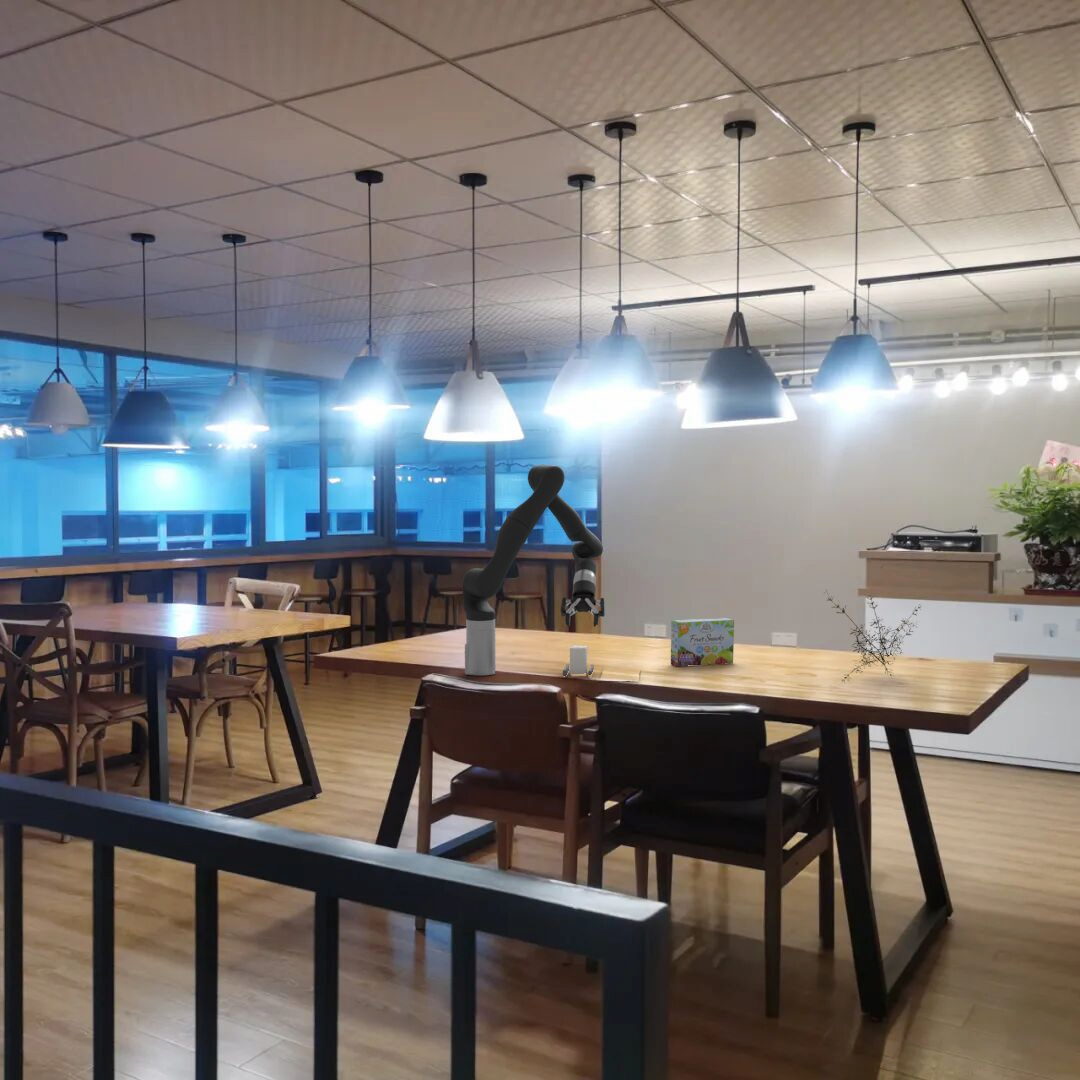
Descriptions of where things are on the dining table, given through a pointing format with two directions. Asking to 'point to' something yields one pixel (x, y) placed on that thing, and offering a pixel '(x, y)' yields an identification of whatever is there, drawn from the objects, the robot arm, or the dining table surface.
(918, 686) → the dining table surface
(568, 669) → the brackets
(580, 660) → the block
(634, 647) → the dining table surface
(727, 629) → the snack box
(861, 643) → the dried plant
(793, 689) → the dining table surface
